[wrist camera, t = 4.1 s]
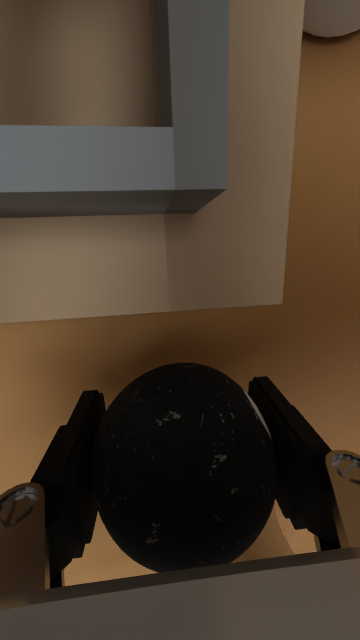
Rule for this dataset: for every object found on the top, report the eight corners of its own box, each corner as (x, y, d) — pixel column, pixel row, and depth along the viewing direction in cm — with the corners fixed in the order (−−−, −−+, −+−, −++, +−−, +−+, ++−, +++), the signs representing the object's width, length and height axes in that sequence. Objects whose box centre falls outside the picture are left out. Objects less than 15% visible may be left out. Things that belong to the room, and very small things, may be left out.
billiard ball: (83, 382, 11) (4, 532, 5) (204, 315, 11) (260, 398, 5) (154, 472, 13) (152, 657, 7) (259, 417, 12) (349, 565, 7)
